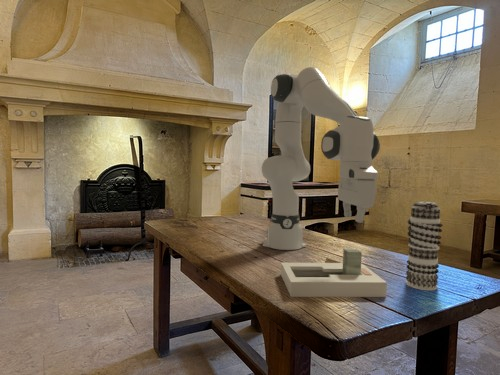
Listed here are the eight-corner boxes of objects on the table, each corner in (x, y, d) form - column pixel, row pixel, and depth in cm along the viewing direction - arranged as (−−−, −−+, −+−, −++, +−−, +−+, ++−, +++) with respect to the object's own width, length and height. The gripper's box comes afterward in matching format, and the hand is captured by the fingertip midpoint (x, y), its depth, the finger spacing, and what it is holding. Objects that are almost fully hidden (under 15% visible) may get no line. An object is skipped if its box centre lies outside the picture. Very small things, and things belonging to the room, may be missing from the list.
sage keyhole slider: (333, 280, 103) (334, 247, 103) (359, 280, 104) (360, 247, 103) (341, 290, 95) (343, 253, 95) (369, 290, 96) (371, 254, 95)
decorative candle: (424, 292, 94) (429, 204, 93) (397, 282, 103) (401, 200, 101) (446, 288, 98) (451, 203, 97) (418, 278, 107) (423, 200, 105)
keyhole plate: (280, 274, 107) (281, 261, 107) (360, 275, 109) (361, 262, 108) (290, 296, 89) (291, 281, 89) (386, 296, 91) (386, 281, 91)
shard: (326, 261, 125) (326, 256, 125) (347, 263, 123) (347, 259, 123) (323, 270, 115) (323, 264, 115) (346, 272, 113) (346, 267, 113)
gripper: (334, 170, 107) (332, 213, 108) (357, 172, 87) (354, 225, 88) (353, 171, 108) (351, 214, 109) (381, 173, 87) (378, 225, 88)
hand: (353, 219), depth 98 cm, fingers open, 8 cm apart
